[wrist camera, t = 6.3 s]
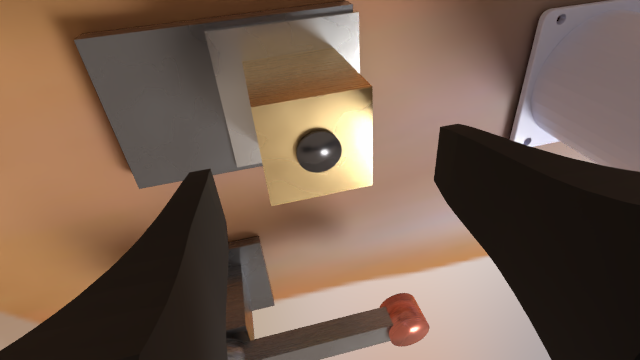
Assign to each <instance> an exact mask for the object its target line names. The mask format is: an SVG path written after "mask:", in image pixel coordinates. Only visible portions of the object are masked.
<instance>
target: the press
mask: <svg viewBox="0 0 640 360" xmlns="http://www.w3.org/2000/svg"><path fill="white" fill-rule="evenodd" d="M74 42H75V44H76V46H77V49H78V51H79V53H80V55H81V58H82V60H83V62H84V65H85V67H86V69H87V71H88V74H89V76H90V78H91V80H92V83H93V85H94V87H95V90H96V92H97V94H98V96H99V99H100V101H101V103H102V105H103V108H104V110H105V112H106V114H107V117H108V119H109V121H110V124H111V126H112V128H113V130H114V133H115V135H116V137H117V139H118V142H119V144H120V146H121V149H122V151H123V153H124V155H125V158H126V160H127V162H128V164H129V167H130V169H131V171H132V174H133V176H134V178H135V180H136V183H137V185H138V187H139V189H141V188H146V187H152V186H157V185H162V184H168V183H173V182H179V181H183V180H184V179H185V178H186V176H187V175H188V173H189V172H194V171H199V170H205V169H211V172H212V175H216V174H222V173H227V172H232V171H238V170H243V169H248V168H254V167H259V166H263V164H262V159H261V154H260V149H259V144H258V140H257V135H256V130H255V125H254V120H253V115H252V111H251V106H250V100H249V95H248V90H247V85H246V80H245V75H244V70H243V65H242V62H243V61H249V60H256V59H262V58H269V57H275V56H282V55H288V54H295V53H301V52H308V51H314V50H321V49H327V48H334V49H335V50H336V51H337V52H338V53H339V54H340V55H341V56H342V57H343V58H344V59H345V60H346V61H347V62H348V63H349V64H350V65H351V66H352V67H353V68H354V69H355V70H356V71H357V72H358V73H359V74H360V57H359V12H358V11H356V12H353V4H351V3H349V2H348V1H339V2H331V3H323V4H315V5H307V6H299V7H291V8H283V9H275V10H268V11H260V12H252V13H244V14H236V15H228V16H220V17H212V18H204V19H196V20H188V21H181V22H173V23H165V24H157V25H149V26H141V27H133V28H125V29H117V30H109V31H101V32H93V33H86V34H81V35H80V36H78V37H77V38H76V39H74ZM228 248H229V256H228V280H227V302H226V338H232V339H238V340H241V341H243V342H247V341H251V340H255V339H254V328H253V318H252V311H254V310H257V309H261V308H266V307H270V306H274V299H273V294H272V290H271V286H270V281H269V277H268V273H267V268H266V264H265V260H264V256H263V251H262V247H261V243H260V238H259V236H257V237H252V238H248V239H243V240H238V241H234V242H229V243H228Z"/></svg>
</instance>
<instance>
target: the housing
mask: <svg viewBox="0 0 640 360" xmlns="http://www.w3.org/2000/svg"><path fill="white" fill-rule="evenodd" d="M242 65H243V70H244V75H245V80H246V85H247V90H248V95H249V100H250V106H251V111H252V115H253V120H254V125H255V130H256V135H257V140H258V144H259V149H260V154H261V159H262V164H263V169H264V174H265V178H266V183H267V188H268V193H269V198H270V203H271V206H275V205H280V204H285V203H290V202H294V201H299V200H304V199H309V198H313V197H318V196H323V195H328V194H333V193H337V192H342V191H347V190H352V189H356V188H361V187H366V186H371V185H373V133H372V86H371V85H370V84H369V83H368V82H367V81H366V80H365V79H364V78H363V77H362V76H361V75H360V74H359V73H358V72H357V71H356V70H355V69H354V68H353V67H352V66H351V65H350V64H349V63H348V62H347V61H346V60H345V59H344V58H343V57H342V56H341V55H340V54H339V53H338V52H337V51H336V50H335V49H334V48H327V49H321V50H314V51H308V52H301V53H295V54H288V55H282V56H275V57H269V58H262V59H256V60H249V61H243V62H242Z"/></svg>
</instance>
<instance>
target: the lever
mask: <svg viewBox="0 0 640 360" xmlns="http://www.w3.org/2000/svg"><path fill="white" fill-rule="evenodd" d="M428 331H429V325H428V323H427V321H426V319H425V317H424V315H423V314H422V312H421V310H420V308H419V306H418V304H417V302H416V300H415V299H414V297H413V296H412V295H410V294H407V293H400V294H396V295H394V296H391V297H389V298H388V299H386V300H385V301H384V302H383V303H382V304H381V306H380V308H377V309H373V310H370V311H366V312H361V313H358V314H353V315H350V316H346V317H342V318H338V319H334V320H330V321H326V322H322V323H318V324H314V325H310V326H306V327H302V328H298V329H294V330H290V331H286V332H282V333H279V334H274V335H270V336H267V337H263V338H259V339H255V340H251V341H247V342H243V341H241V340H238V339H232V338H226V341H227V358H228V360H320V359H324V358H328V357H332V356H335V355H339V354H343V353H346V352H350V351H354V350H358V349H362V348H365V347H369V346H373V345H376V344H380V343H384V342H388V341H391V342H392V343H393V344H394V345H396V346H408V345H411V344H414V343H416V342H418V341H420V340H421V339H422V338H423V337H425V335H426V334H427V333H428Z"/></svg>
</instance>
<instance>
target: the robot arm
mask: <svg viewBox="0 0 640 360" xmlns="http://www.w3.org/2000/svg"><path fill="white" fill-rule="evenodd" d="M559 16H560V19H559V20H558V21H557V18H558V17H559ZM525 139H526V140H525ZM559 141H561V142H562V143H564V144H566V145H567V146H569V147H571V148H572V149H574V150H576V151H577V152H579V153H580V154H582V155H584V156H585V157H587V158H589V159H590V160H592V161H593V162H595V163H597V164H594V163H589V162H585V161H581V160H576V159H572V158H568V157H564V156H561V155H557V154H554V153H550V152H547V151H543V150H540V149H537V148H533V147H534V146H539V145H544V144H549V143H554V142H559ZM434 181H435V183H436V185H437V187H438V188H439V190H440V192H441V194H442V196H443V197H444V199H445V200H446V202H447V204H448V205H449V206H450V208H451V209H452V210H453V212H454V213H455V214H456V215H457V217H458V218H459V219H460V220H461V222H462V223H463V224H464V225H465V227H466V228H467V229H468V230H469V231H470V233H471V234H472V235H473V236H474V238H475V239H476V240H477V241H478V243H479V244H480V245H481V246H482V247H483V249H484V250H485V251H486V252H487V254H488V255H489V256H490V258H491V259H492V260H493V262H494V263H495V264H496V266H497V267H498V269H499V270H500V272H501V273H502V275H503V277H504V278H505V280H506V281H507V283H508V284H509V286H510V287H511V289H512V291H513V292H514V294H515V296H516V297H517V299H518V301H519V302H520V304H521V306H522V307H523V309H524V311H525V312H526V314H527V316H528V317H529V319H530V321H531V323H532V324H533V326H534V328H535V330H536V332H537V334H538V336H539V337H540V339H541V341H542V342H543V345H544V346H545V348H546V350H547V352H548V354H549V356H550V358H551V360H640V0H608V1H601V2H594V3H587V4H580V5H573V6H566V7H558V8H551V9H548V10H546V11H545V12H543V14H542V15H541V16H540V19H539V22H538V26H537V30H536V34H535V38H534V42H533V46H532V50H531V55H530V59H529V63H528V67H527V71H526V75H525V79H524V83H523V87H522V91H521V95H520V99H519V104H518V108H517V112H516V116H515V120H514V124H513V128H512V132H511V136H510V140H509V139H506V138H503V137H500V136H497V135H494V134H491V133H489V132H486V131H482V130H479V129H476V128H473V127H469V126H466V125H461V124H455V125H449V126H443V127H440V133H439V142H438V150H437V158H436V167H435V175H434ZM228 256H229V248H228V236H227V225H226V220H225V216H224V213H223V209H222V206H221V202H220V199H219V196H218V192H217V189H216V185H215V182H214V178H213V175H212V172H211V169H205V170H199V171H194V172H189V173H188V175H187V176H186V178H185V179H184V180H183V182H182V183H181V185H180V186H179V188H178V189H177V191H176V192H175V193H174V195H173V196H172V198H171V199H170V201H169V202H168V203H167V205H166V206H165V207H164V209H163V210H162V212H161V213H160V214H159V216H158V217H157V218H156V219H155V221H154V222H153V223H152V224H151V225H150V227H149V228H148V229H147V230H146V232H145V233H144V234H143V235H142V236H141V238H140V239H139V240H138V241H137V242H136V243H135V244H134V245H133V246H132V247H131V248H130V249H129V250H128V251H127V252H126V253H125V254H124V255H123V256H122V257H121V258H120V259H119V260H118V261H117V262H116V263H115V264H114V265H113V266H112V267H111V268H110V269H109V270H108V271H107V272H105V273H104V274H103V275H102V276H101V277H100V278H98V279H97V280H96V281H95V282H94V283H93V284H91V285H90V286H89V287H88V288H87V289H86V290H84V291H83V292H82V293H81V294H80V295H79V296H77V297H76V298H75V299H74V300H72V301H71V302H70V303H68V304H67V305H66V306H64V307H63V308H62V309H60V310H59V311H58V312H57V313H55V314H54V315H52V316H51V317H50V318H48V319H47V320H45V321H44V322H43V323H41V324H40V325H38V326H37V327H36V328H34V329H33V330H31V331H30V332H28V333H27V334H25V335H24V336H23V337H21V338H19V339H18V340H16V341H15V342H13V343H12V344H10V345H9V346H7V347H6V348H4V349H2V350H1V351H0V360H228V358H227V341H226V302H227V280H228Z"/></svg>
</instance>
